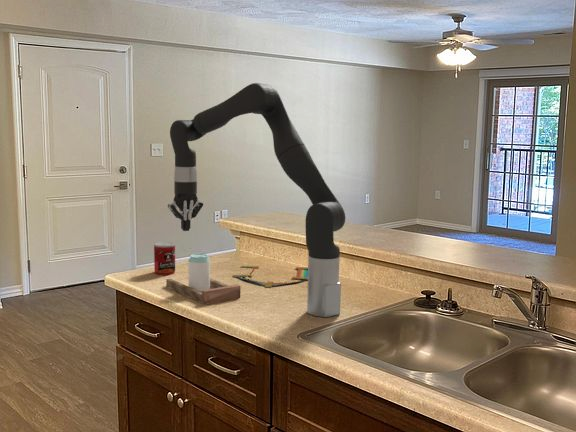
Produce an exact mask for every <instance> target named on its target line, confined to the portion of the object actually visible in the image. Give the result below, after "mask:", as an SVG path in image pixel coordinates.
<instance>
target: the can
mask: <svg viewBox="0 0 576 432" xmlns="http://www.w3.org/2000/svg"><path fill="white" fill-rule="evenodd" d="M187 261H188V263H187V265H188V267H187V268H188V269H187V270H188V287H191V288H193V289H195V290H197V291H200V292H202V290H207V289H211V288H210V278H211V260H210V258H209V255H208V254H206V253H205V254H204V253H194V254H191V255H190V256H189V259H188V260H187Z"/></svg>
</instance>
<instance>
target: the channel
mask: <svg viewBox="0 0 576 432" xmlns="http://www.w3.org/2000/svg"><path fill="white" fill-rule="evenodd" d="M165 284H166V287H167V288H169V289H171V290H173V291H176V292H178V293H180V294H183V295H184V296H186V297H189V298H191V299H192V300H195V301H198V302H200V303H202V304H203V305H210V304H214V303H221V302H226V301H230V300H231V301H232V300H235V299H240V298H241V285H239V284H238V283H237V284H236V283H235V284H232V285H228V284H226V283H224V282H221V281H218V280H216V279H214V278H211V277H210V289H207V290H202V292H200V291H197V290H195V289H193V288H191V287H189V285H186V284H184V283H182V282H179V281H177V280H174V279H173V278H166V283H165Z"/></svg>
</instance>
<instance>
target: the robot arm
mask: <svg viewBox="0 0 576 432" xmlns="http://www.w3.org/2000/svg"><path fill="white" fill-rule="evenodd" d="M248 114H254V115H261V116H262V117H263V118H264V120H265V122H266V124H267V125H268V127H269V129H270V131H271V133H272V134H271V135H272V141H273V142H272V143H273V150H274V154H275V155H274V156H276V159H277V160H278V163H279V164H280V166H281V168H282V170H283V171H284V173H285V174H286V176H287V177H288V178H289V179H290V180H291V181H292V182H293V183H294V184H296V186H298V187H299V188H300V189H301V190H302V191H303V192H304V193H305V194H306V196H307V197H308V199H309V200H310V202H311V204H312V205H311V206H310V207H309V208H307V211H306V214H305V244H306V248H307V250H308V253H307V256H308V258H307V260H308V263H307V267H308V277H307V278H308V280H307V303H306V304H307V305H306V306H307V307H306V308H307V309H306V312H307V313H308V314H309V315H311V316H315V317H323V318H329V317H333V316H338V315H341V301H342V300H341V297H342V295H341V294H342V283H341V282H340V281H339V280H340V256H341V255H340V254H341V251H340V250H341V248H340V247H339V246H338V245H336V243H335V242H334V240H335V239H334V232H337V231H339V230H341V229H343V227H344V225H345V224H346V213H345V209H344V208H343V206H342V204H341V203H340V202H339V200H338V198H337V197H336V196H335V194H334V193H333V191H332V190H331V189H330V187H329V185H327V182H326V181H325V179H324V178H323V176H322V174H321V172H320V170H319V169H318V167H317V165H316V164H315V162H314V160H313V158H312V156H311V153H310V152H309V150H308V149H307V147H306V145H305V143H304V141H303V140H302V138H301V137H300V135H299V133H298V131H297V129H296V127H295V126H294V124H293V122H292V121H291V120H292V119H290V117H289V115H288V111H287V110H286V108H285V105H284V103H283V100H282V98H281V96H280V94H279V92H278V90H277V89H276V88H275V87H274V86H272V85H269V84H268V83H267V84H266V83H259V82H253V83H250V84H248V85H247V86H245V87H243V88H242V89H240V90H239V91H238V92H236V93H234V94H233V95H232V96H231V97H229V98H227V99H225V100H224V101H222V102H220V103H218V104H216V105H214V106H212V107H209V108H207V109H205V110H203V111H200V112H199V113H197V114H196V115H195V116H194V117H193V118H192V119H190V120H189V119H188V120H187V119H186V120H185V119H177V120H175V121H173V122H172V124H171V126H170V128H169V137H170V141H171V145H172V148H173V149H172V150H173V153H174V176H173V180H174V185H173V186H174V197H173V201H172V202H171V203H168V204H167V208H168V209H169V210H170V212H171V213H172V214H173V215H174V216H175V219H179V220H180V228H181V230H182V231H183V232H189V231H190V229H191V220H192V219H194V218H196V217H197V215H198V213H199V212H200V211H201V210H202V208H203V207H204V202H202V201H200V200H198V198H199V197H198V196H197V194H198V177H197V176H198V171H197V153H196V151H195V149H192V148H190V146H189V142H193V141H194V142H195V141H198V140H199V139H201V138H202V137H204V136H206V135H207V134H209V133H211V132H214V131H216V130H218V129H220V128H223V127H224V126H226V125H227V124H228V123H229V122H230V121H232V119H234V118H237V117H239V116H243V115H248Z"/></svg>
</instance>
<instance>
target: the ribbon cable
mask: <svg viewBox="0 0 576 432" xmlns="http://www.w3.org/2000/svg"><path fill="white" fill-rule="evenodd" d="M241 267H242V268H246V269H249V268H251V270H252V268H253V270H252V273H254V270H255V269H259V265H258V266H257V265H241V266H240V268H241ZM242 268H241V269H242ZM295 271H297V273H296V276H292V277H291V281H292V280H293V281H294V280H297V281H294V282H292V283H291V282H288V281H285V282H284V283H283V282H274V281H267V282H264V281H259V280H252V279H251V280H250V279H249V280H248V279H245V278H241V277H246V276H249V277H250V278H252V274H250V275H248V274H233V275H232V278H237V279H239V280H240V279H241V280H244V281H245V282H249V283H252V284H256V285H259V286H262V287H264V288H265V289H272V288H273V287H278V286H284V285H285V286H286V285H290V284H297V283H299V284H300V283H303V282H306V281H308V266H306V267H304V266H303V267H301V266H300V267H299V266H296V267H295ZM238 277H239V278H238ZM258 281H259V282H258ZM287 282H288V283H287Z"/></svg>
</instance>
